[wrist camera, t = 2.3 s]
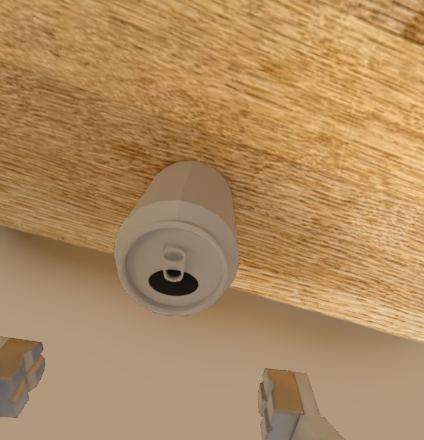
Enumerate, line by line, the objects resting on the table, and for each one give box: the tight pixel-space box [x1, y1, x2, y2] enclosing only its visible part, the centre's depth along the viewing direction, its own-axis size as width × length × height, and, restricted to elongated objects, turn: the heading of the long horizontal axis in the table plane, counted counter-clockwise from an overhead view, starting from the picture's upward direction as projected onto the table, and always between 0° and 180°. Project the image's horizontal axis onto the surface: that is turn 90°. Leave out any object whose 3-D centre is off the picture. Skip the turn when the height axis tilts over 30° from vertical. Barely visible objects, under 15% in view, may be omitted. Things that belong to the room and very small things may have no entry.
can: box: [114, 161, 239, 316], centre depth 22 cm, size 8×8×12 cm
